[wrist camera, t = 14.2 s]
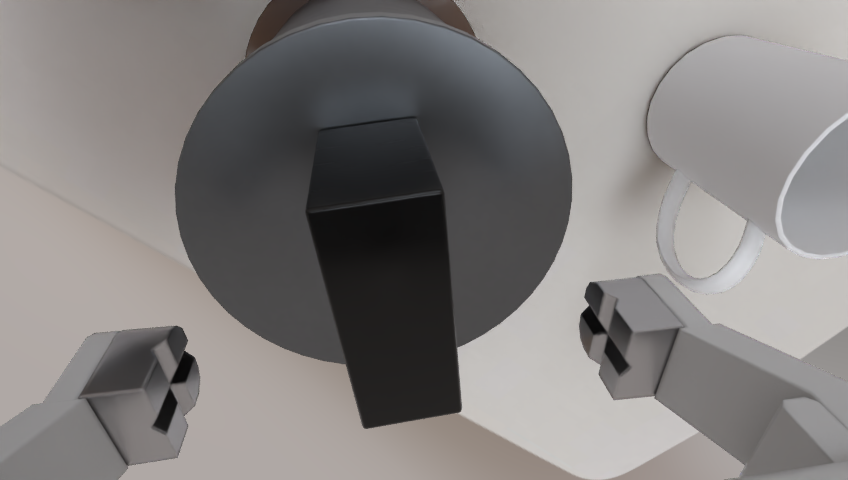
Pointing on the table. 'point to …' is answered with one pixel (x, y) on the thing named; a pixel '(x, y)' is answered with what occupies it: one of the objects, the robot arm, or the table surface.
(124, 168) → the table surface
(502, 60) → the bin
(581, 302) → the table surface
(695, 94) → the mug
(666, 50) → the table surface
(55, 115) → the table surface
